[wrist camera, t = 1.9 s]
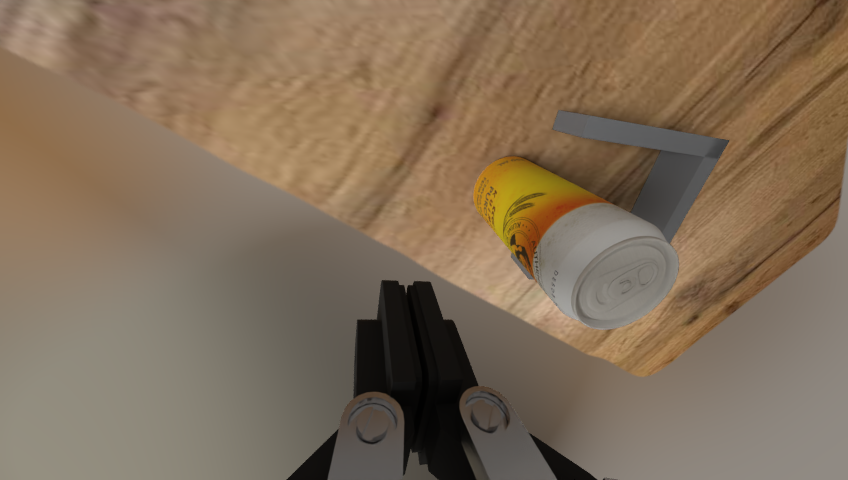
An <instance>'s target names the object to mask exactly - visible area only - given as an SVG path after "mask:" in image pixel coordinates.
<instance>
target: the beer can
mask: <svg viewBox="0 0 848 480" xmlns="http://www.w3.org/2000/svg"><path fill="white" fill-rule="evenodd" d="M474 204H475V207H476V209H477V211H478V212H479V213H480V215H481V216H482V217H483V218H484V220H485V221H486V222H487V223H488V224H489V226H490V227H491V228H492V229H493V230H494V232H495V233H496V234H497V235H498V236H499V238H500V239H501V240H502V241H503V242H504V244H505V245H506V246H507V247H508V248H509V250H510V251H511V252H512V253H513V254H514V255H515V257H516V258H517V259H518V260H519V261H520V263H521V264H522V265H523V266H524V267H525V269H526V270H527V271H528V272H529V273H530V275H531V276H532V277H533V278H534V279H535V281H536V282H537V283H538V284H539V285H540V287H541V288H542V289H543V290H544V291H545V293H546V294H547V295H548V296H549V297H550V299H551V300H552V301H553V302H554V303H555V305H556V306H557V307H558V308H559V309H560V311H562V312H563V313H564V314H565V315H567V316H569V317H571V318H573V319H576V320H578V321H581V322H582V323H583V324H584V325H586V326H588V327H590V328H594V329H601V330H606V329H614V328H619V327H622V326H625V325H628V324H630V323H632V322H634V321H636V320H638V319H640V318H642V317H643V316H645V315H646V314H647V313H649V312H650V311H651V310H653V309H654V308H655V307H656V306H657V305H658V304H659V303H660V302H661V301H662V300H663V299H664V298H665V297H666V295H667V294H668V293H669V291H670V289H671V288H672V286H673V284H674V282H675V280H676V277H677V274H678V270H679V259H678V255H677V252H676V251H675V249H674V248H673V247H672V246H671V245H670V244H669V243H668V242H667V241H666V239H665V237H664V235H663V234H662V232H661V231H660V230H659V229H658V228H657V227H656V226H655V225H653V224H651V223H649V222H647V221H645V220H643V219H641V218H639V217H637V216H636V215H634V214H632V213H630V212H628V211H626V210H624V209H622V208H620V207H618V206H616V205H614V204H612V203H610V202H608V201H606V200H604V199H602V198H600V197H598V196H596V195H594V194H593V193H591V192H589V191H587V190H585V189H583V188H581V187H579V186H577V185H575V184H573V183H571V182H569V181H567V180H565V179H563V178H561V177H559V176H557V175H555V174H553V173H551V172H549V171H548V170H546V169H544V168H542V167H540V166H538V165H536V164H534V163H532V162H530V161H528V160H526V159H524V158H521V157H516V156H509V157H504V158H501V159H498V160H496V161H494V162H493V163H491V164H490V165H489V166H488V167H486V168H485V169H484V171H483V172H482V173H481V174H480V176H479V178H478V180H477V182H476V184H475V188H474Z"/></svg>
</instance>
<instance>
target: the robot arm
mask: <svg viewBox="0 0 848 480" xmlns="http://www.w3.org/2000/svg"><path fill="white" fill-rule="evenodd" d="M410 449H411V450H412V453H413V452H418V456H419V464H420V465H422V464H428V470H429V472H430V473H431V474H433V475H434V476H435V477H436V478H437V480H597V479H596V478H594V477H593V476H592V475H591V474H590V473H588V472H587V471H585V470H584V469H582V468H581V467H579V466H578V465H576V464H575V463H573V462H572V461H570V460H569V459H567V458H566V457H564V456H563V455H561V454H560V453H558V452H557V451H555V450H554V449H552V448H551V447H549V446H548V445H547V444H545V443H544V442H542V441H541V440H539V439H538V438H536V437H535V436H533V435H532V434H530V433H529V432H527V430H526V428H525V427H524V425H523V423H522V422H521V420H520V418H519V417H518V415H517V413H516V412H515V410H514V408H513V407H512V405H511V404H510V403H509V401H508V400H507V399H506V398H505V397H504V396H503V395H502V394H500V393H499V392H497V391H495V390H493V389H491V388H488V387H484V386H478V383H477V381H476V378H475V375H474V373H473V370H472V367H471V365H470V362H469V359H468V357H467V354H466V352H465V349H464V347H463V344H462V341H461V338H460V336H459V333H458V331H457V328H456V325H455V323H454V322H453V320H443V317H442V314H441V311H440V308H439V305H438V302H437V299H436V296H435V293H434V291H433V288H432V285H431V282H422V281H414V283H413V285H408V287H407V293H406V292H405V287H404V285H399V283H398V281H389V280H382V282H381V289H380V297H379V305H378V314H377V320H357V329H356V343H355V363H354V399H353V400H351V401H350V403H349V404H348V405H347V406H346V408H345V409H344V412H343V415H342V417H341V421H340V426H339V429H338V430H337V431H336V432H335V433H334V434H333V435H332V436H331V437H330V438H329V439H328V440H327V441H326V442H325V443H324V444H323V445H322V446H321V447H320V448H319V449H318V450H316V452H314V454H312V456H310V457H309V458H308V459H307V460H306V461H305V462H304V463H303V464H302V465H301V466H300V467H299V468H298V469H297V470H296V471H295V472H294V473H293V474H292V475H291V476H290V477H289V478H288V479H287V480H403V476H404V474H405V471H406V467H407V462H408V458H409V453H410ZM603 480H616V479H610V478H604V479H603Z"/></svg>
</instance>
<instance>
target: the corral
mask: <svg viewBox="0 0 848 480" xmlns="http://www.w3.org/2000/svg"><path fill="white" fill-rule="evenodd" d="M553 130H557V131H560V132H564V133H568V134H571V135H575V136H578V137H582V138H589V139H595V140H601V141H607V142H614V143H620V144H626V145H633V146H639V147H645V148H652V149H658V150H661V152H660V154H659V156H658V158H657V160H656V162H655V164H654V166H653V168H652V170H651V172H650V174H649V176H648V178H647V180H646V182H645V184H644V186H643V188H642V190H641V193H640V195H639V197H638V199H637V201H636V203H635V205H634V207H633V209H632V211H631V213H632V214H634V215H636V216H637V217H639V218H641V219H643V220H645V221H647V222H649V223H651V224H653V225H655V226H656V227H657V228H658V229H659V230H660V231H661V232H662V234H663V235H664V237H665V239H666V241H667V242H668V243H669V244H670V242H671V240H672V238H673V237H674V235H675V233H676V232H677V230H678V228H679V226H680V225H681V223H682V221H683V220H684V218H685V216H686V214H687V213H688V211H689V209H690V208H691V206H692V204H693V202H694V201H695V199H696V197H697V195H698V194H699V192H700V190H701V189H702V187H703V185H704V183H705V182H706V180H707V178H708V177H709V175H710V173H711V171H712V170H713V168H714V166H715V165H716V163H717V161H718V159H719V158H720V156H721V154H722V152H723V151H724V149H725V147H726V146H727V144H728V142H729V140H724V139H719V138H713V137H707V136H702V135H696V134H691V133H685V132H679V131H674V130H668V129H663V128H657V127H651V126H646V125H640V124H635V123H629V122H623V121H618V120H612V119H607V118H601V117H595V116H590V115H584V114H578V113H572V112H566V111H560V110H559V111H558V114H557V117H556V120H555V123H554V126H553ZM511 258H512V259H513V260H514V261H515V263H516V264H517V265H518V266H519V268H520V269H521V270H522V271H523V273H524V274H525V275H526V276H527V278H528V279H534V278H533V277H532V276H531V275H530V273H529V272H528V271H527V270H526V269H525V267H524V266H523V265H522V264H521V263H520V261H519V260H518V259H517V258H516V257H515V255H514V254H513V253H512V254H511Z"/></svg>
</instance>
